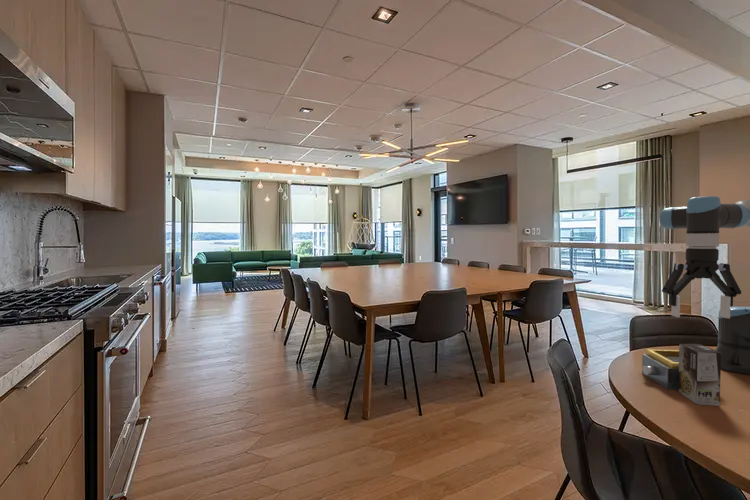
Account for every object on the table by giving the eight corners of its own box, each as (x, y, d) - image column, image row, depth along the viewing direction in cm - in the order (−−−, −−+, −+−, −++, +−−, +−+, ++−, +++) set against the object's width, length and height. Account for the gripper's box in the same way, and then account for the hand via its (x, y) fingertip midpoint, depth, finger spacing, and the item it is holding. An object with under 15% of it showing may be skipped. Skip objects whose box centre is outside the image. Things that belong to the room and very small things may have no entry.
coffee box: (721, 406, 108) (722, 352, 108) (696, 404, 110) (697, 351, 109) (700, 393, 117) (701, 343, 117) (677, 391, 119) (678, 342, 118)
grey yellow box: (684, 374, 133) (684, 350, 132) (715, 391, 118) (715, 364, 118) (633, 372, 135) (633, 349, 135) (657, 389, 121) (657, 362, 120)
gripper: (737, 247, 113) (735, 314, 114) (649, 247, 117) (648, 313, 118) (759, 247, 106) (757, 320, 107) (664, 248, 109) (663, 318, 110)
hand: (700, 316), depth 112 cm, fingers open, 13 cm apart
